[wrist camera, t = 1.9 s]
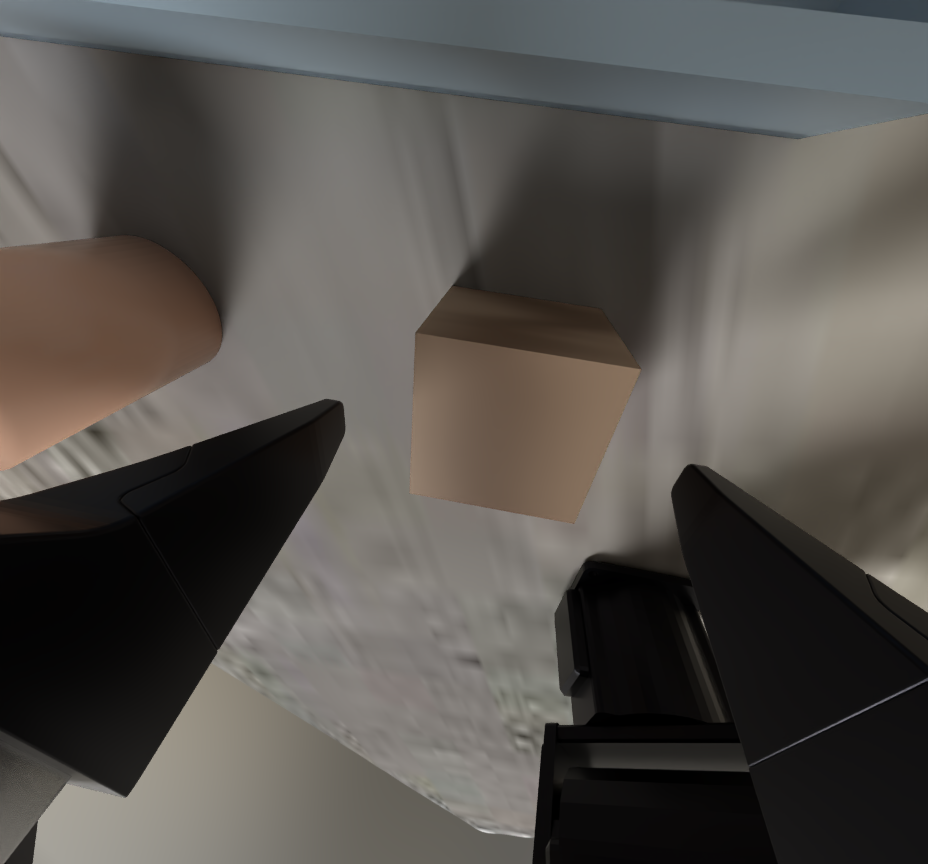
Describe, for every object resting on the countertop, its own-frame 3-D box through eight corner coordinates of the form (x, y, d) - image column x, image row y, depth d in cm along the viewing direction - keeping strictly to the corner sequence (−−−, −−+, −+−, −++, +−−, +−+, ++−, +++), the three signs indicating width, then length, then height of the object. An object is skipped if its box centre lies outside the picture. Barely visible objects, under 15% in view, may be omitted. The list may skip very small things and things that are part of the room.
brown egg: (199, 246, 12) (-81, 292, 7) (235, 375, 15) (61, 485, 9) (67, 225, 13) (-314, 252, 7) (127, 356, 15) (-107, 453, 10)
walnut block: (600, 307, 12) (641, 369, 8) (559, 431, 15) (574, 523, 10) (452, 285, 12) (415, 332, 8) (441, 410, 15) (409, 493, 11)
